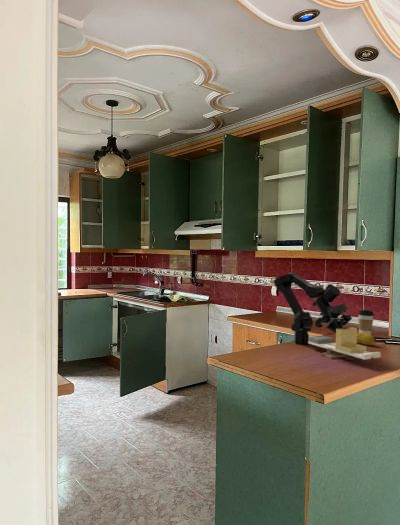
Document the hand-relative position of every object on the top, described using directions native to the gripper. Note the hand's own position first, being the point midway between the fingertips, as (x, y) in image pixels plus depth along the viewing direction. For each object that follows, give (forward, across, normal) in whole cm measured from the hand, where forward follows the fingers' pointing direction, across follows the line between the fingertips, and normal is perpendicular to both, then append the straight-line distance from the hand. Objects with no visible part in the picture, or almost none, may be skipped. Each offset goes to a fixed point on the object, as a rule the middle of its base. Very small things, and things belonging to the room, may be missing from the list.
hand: (343, 336), depth 172 cm
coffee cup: (-12, +48, +25) cm, 56 cm away
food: (-7, +30, +20) cm, 37 cm away
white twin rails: (+4, 0, +5) cm, 6 cm away
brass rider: (+7, 0, 0) cm, 7 cm away
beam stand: (+5, 0, +8) cm, 9 cm away
